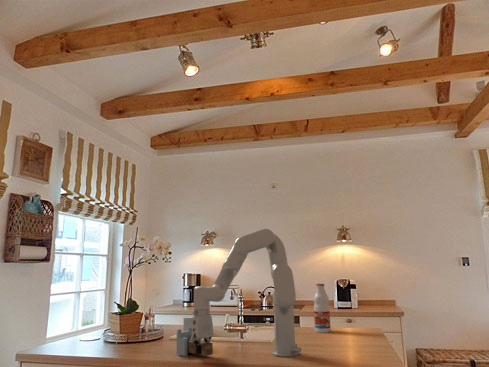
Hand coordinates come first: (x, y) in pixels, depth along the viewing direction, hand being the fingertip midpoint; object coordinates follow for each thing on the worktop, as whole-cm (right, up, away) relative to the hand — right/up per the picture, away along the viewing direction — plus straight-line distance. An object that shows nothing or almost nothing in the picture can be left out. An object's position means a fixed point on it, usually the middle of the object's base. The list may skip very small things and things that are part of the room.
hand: (202, 352), depth 191 cm
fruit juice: (+67, -10, +53) cm, 86 cm away
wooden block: (-2, -1, +2) cm, 3 cm away
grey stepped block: (-8, -3, +7) cm, 11 cm away
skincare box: (-8, -6, +23) cm, 25 cm away
